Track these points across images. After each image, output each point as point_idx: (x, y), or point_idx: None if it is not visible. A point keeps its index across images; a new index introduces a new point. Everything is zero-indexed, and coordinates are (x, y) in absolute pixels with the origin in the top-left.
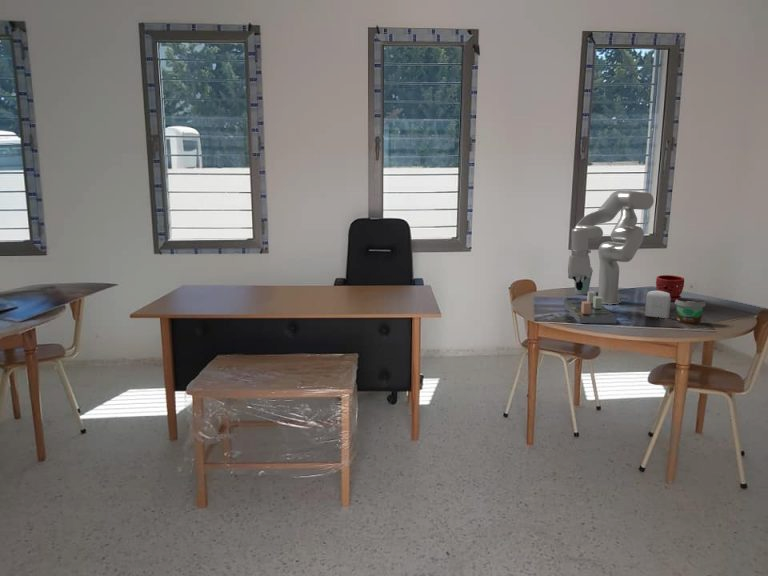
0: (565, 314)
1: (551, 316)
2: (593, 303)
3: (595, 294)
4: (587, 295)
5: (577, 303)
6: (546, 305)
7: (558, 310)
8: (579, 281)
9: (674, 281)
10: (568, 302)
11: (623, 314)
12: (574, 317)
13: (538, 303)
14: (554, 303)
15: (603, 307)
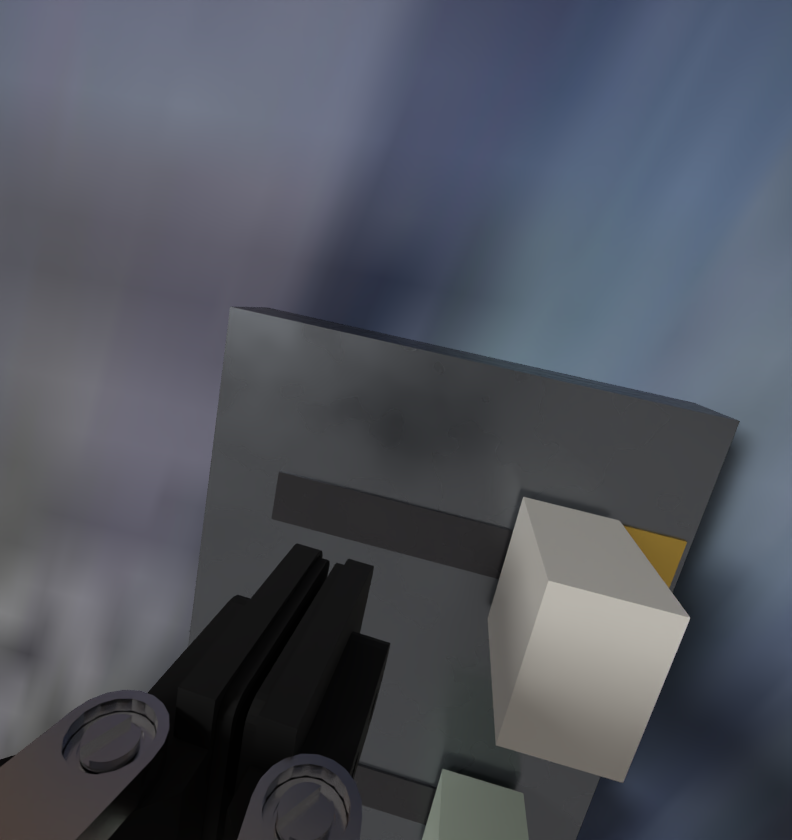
0: (163, 659)
1: (23, 686)
2: (433, 833)
3: (600, 759)
4: (534, 541)
5: (344, 537)
6: (75, 219)
7: (144, 495)
8: (255, 751)
9: None
10: (249, 449)
11: (759, 826)
12: None
13: (2, 76)
14: (205, 111)
15: (569, 807)
